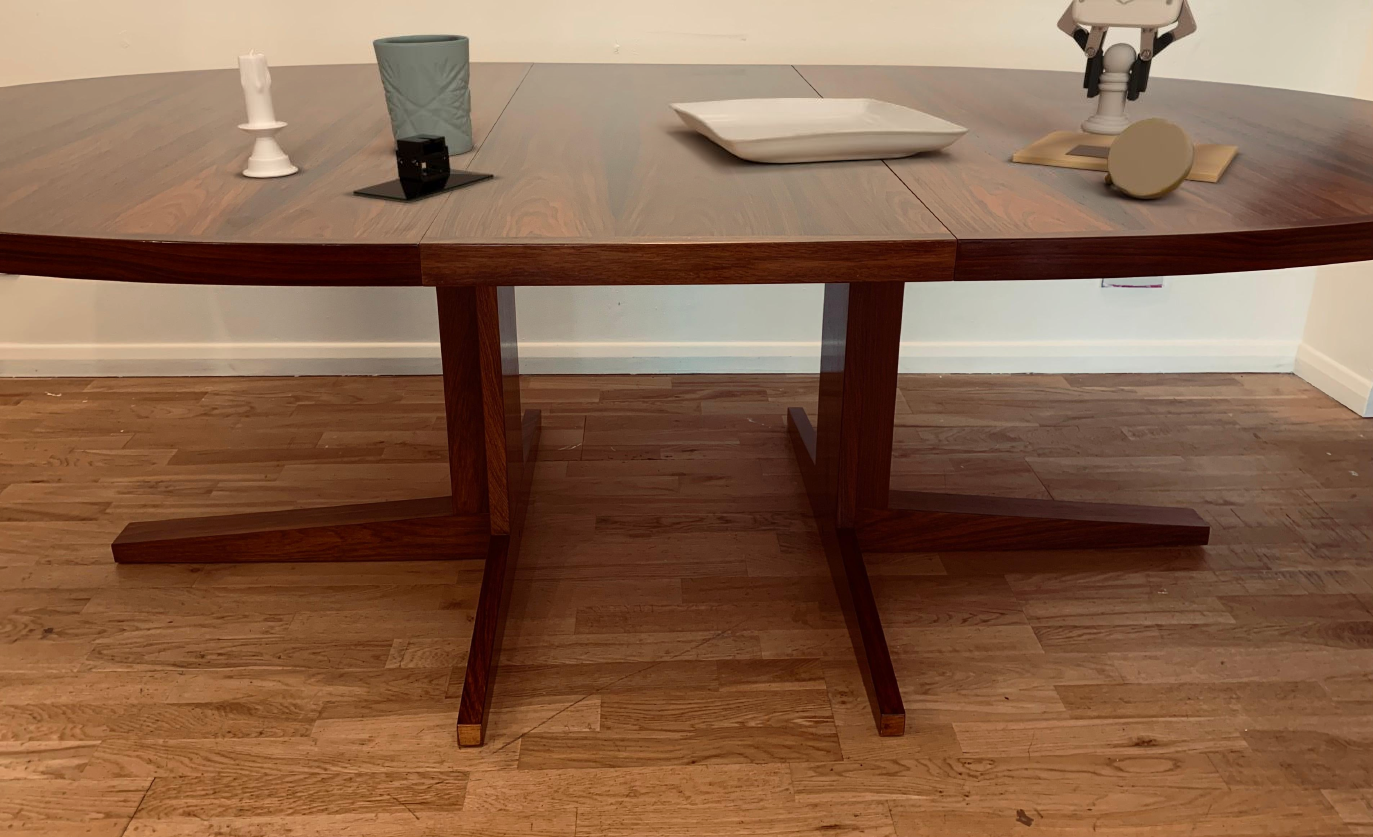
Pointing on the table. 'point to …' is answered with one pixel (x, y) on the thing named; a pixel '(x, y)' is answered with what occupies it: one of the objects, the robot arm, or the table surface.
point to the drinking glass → (427, 87)
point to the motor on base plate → (422, 171)
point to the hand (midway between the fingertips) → (1112, 96)
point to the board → (1095, 149)
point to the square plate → (817, 128)
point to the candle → (262, 120)
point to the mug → (1150, 158)
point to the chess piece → (1112, 92)
